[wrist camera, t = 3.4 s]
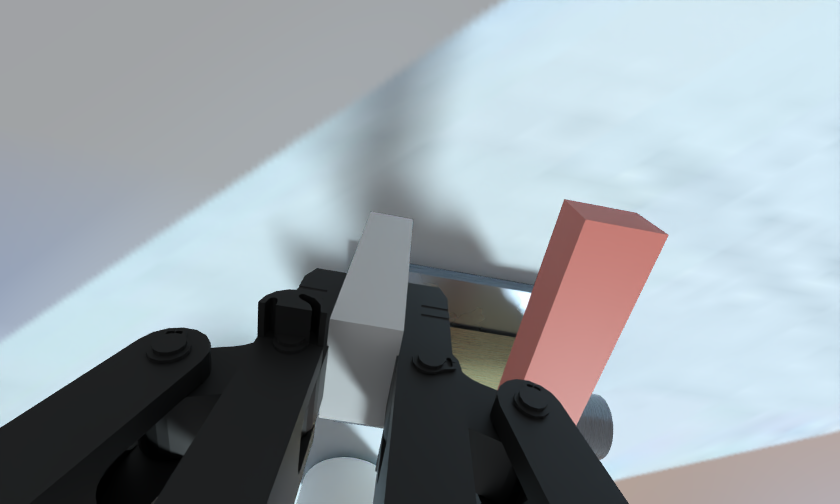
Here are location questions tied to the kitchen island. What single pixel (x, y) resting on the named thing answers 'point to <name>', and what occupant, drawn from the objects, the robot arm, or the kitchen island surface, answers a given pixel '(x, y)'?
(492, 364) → the valve fixture
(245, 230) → the kitchen island surface
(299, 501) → the beverage can
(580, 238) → the lever
